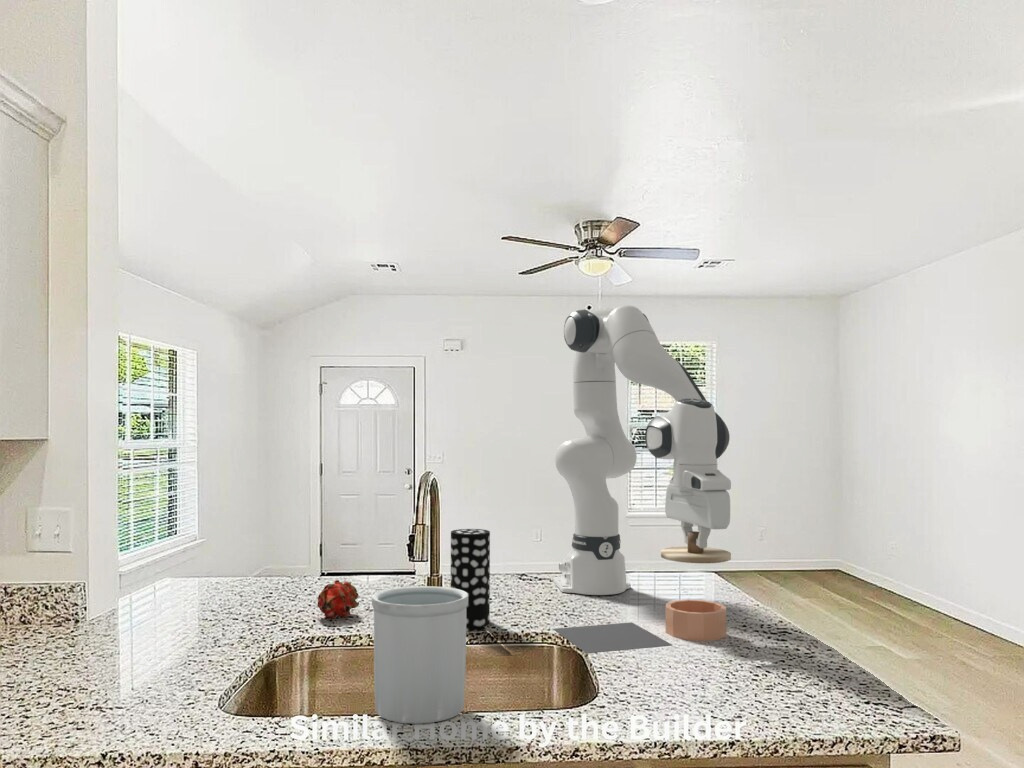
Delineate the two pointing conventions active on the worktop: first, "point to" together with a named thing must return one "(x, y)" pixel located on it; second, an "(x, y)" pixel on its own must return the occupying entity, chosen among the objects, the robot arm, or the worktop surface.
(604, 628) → the mat
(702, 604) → the bowl
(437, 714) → the utensil holder
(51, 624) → the worktop surface
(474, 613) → the white-spotted black cylinder
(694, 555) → the lid
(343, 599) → the dragon fruit
